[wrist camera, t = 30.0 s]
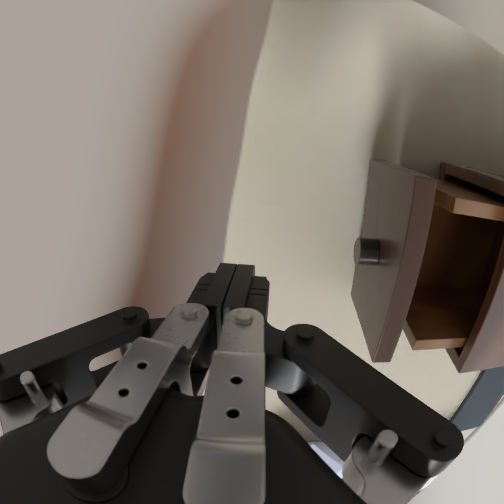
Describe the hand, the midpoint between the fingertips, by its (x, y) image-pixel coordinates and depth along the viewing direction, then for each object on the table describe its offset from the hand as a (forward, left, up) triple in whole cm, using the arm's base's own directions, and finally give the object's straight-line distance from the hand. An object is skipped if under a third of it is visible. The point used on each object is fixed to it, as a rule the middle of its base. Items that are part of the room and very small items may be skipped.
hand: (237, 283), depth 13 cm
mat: (+18, +32, -9) cm, 38 cm away
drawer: (0, +13, -8) cm, 16 cm away
